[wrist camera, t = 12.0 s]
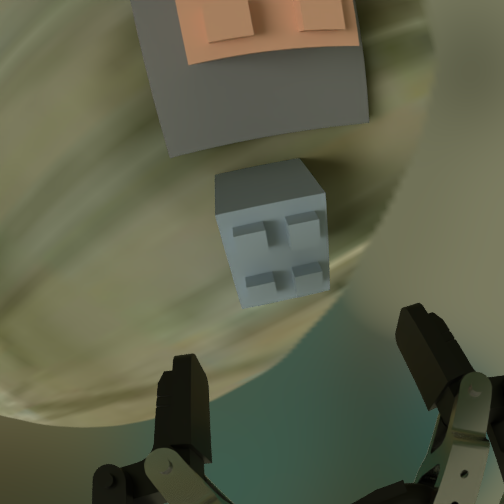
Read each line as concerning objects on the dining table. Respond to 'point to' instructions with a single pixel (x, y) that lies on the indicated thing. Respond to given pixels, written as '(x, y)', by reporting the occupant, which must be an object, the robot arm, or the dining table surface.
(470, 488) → the robot arm
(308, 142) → the dining table surface
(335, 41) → the brick terracotta
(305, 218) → the brick slate
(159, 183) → the dining table surface
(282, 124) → the baseplate
